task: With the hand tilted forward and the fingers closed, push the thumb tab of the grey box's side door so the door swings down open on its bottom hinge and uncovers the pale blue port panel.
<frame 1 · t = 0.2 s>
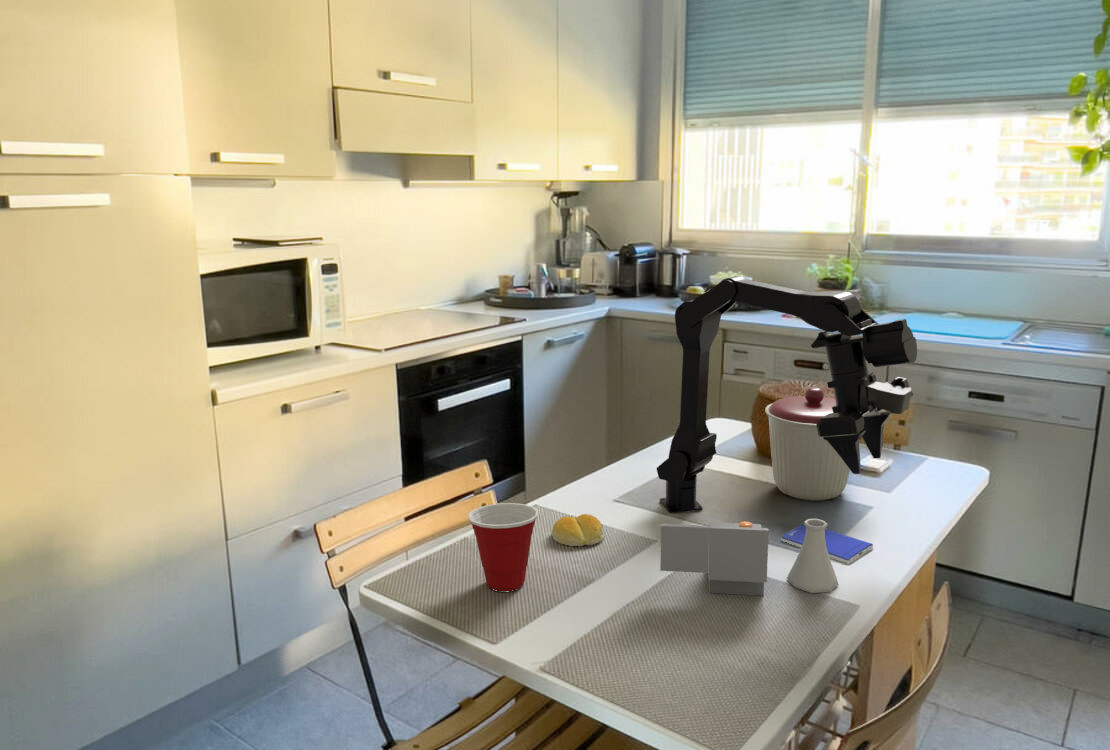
hand: (867, 465, 136), 15 cm above the table, tool pointing down, fingers open, 9 cm apart
hard drive: (826, 548, 144), on the table
bread roll: (578, 539, 148), on the table
grey box: (734, 581, 131), on the table
plastic cup: (505, 584, 132), on the table
canister: (809, 492, 167), on the table
flask: (812, 584, 130), on the table
side door: (713, 552, 125), point 7 cm above the table, hinge at -3.0°
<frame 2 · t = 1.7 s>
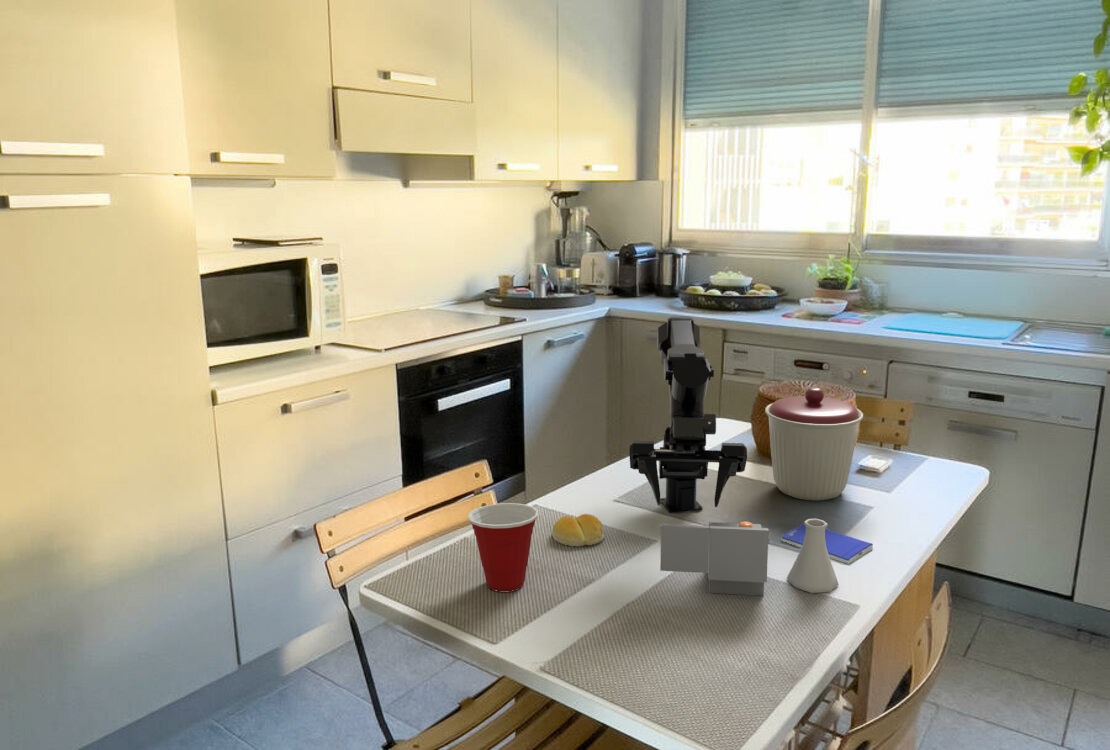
hand: (687, 505, 134), 10 cm above the table, tool tilted 45°, fingers open, 9 cm apart
nothing on the table moved.
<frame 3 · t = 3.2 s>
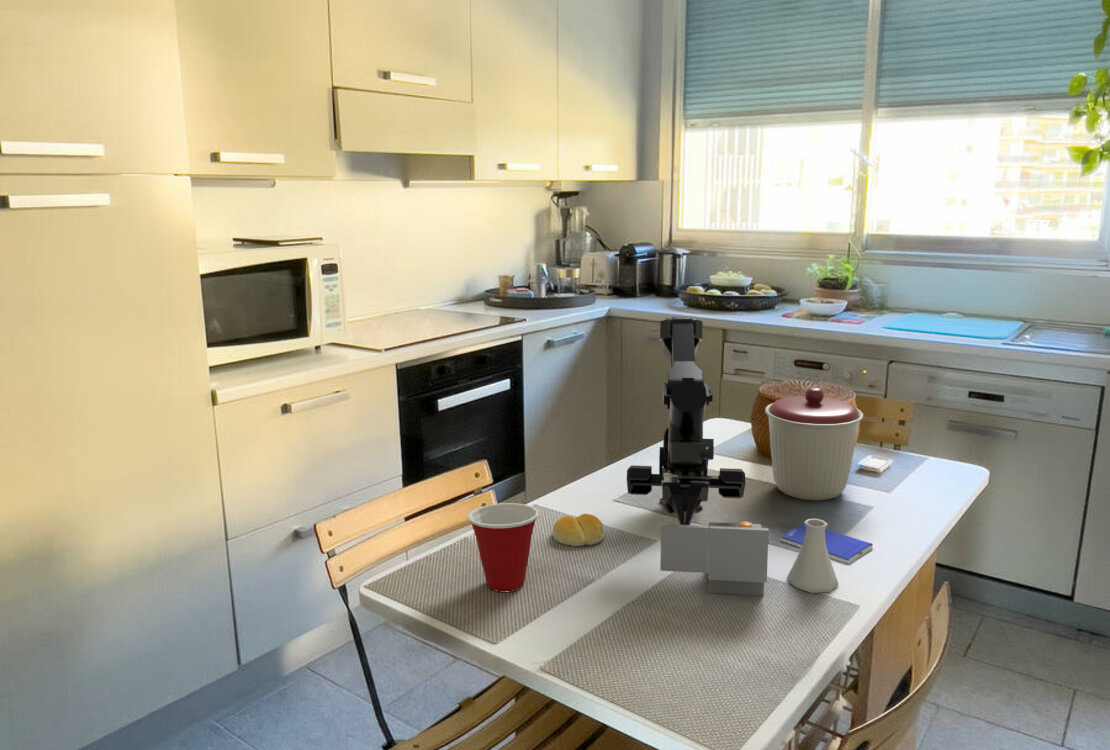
hand: (684, 531, 133), 7 cm above the table, tool tilted 45°, fingers closed
nothing on the table moved.
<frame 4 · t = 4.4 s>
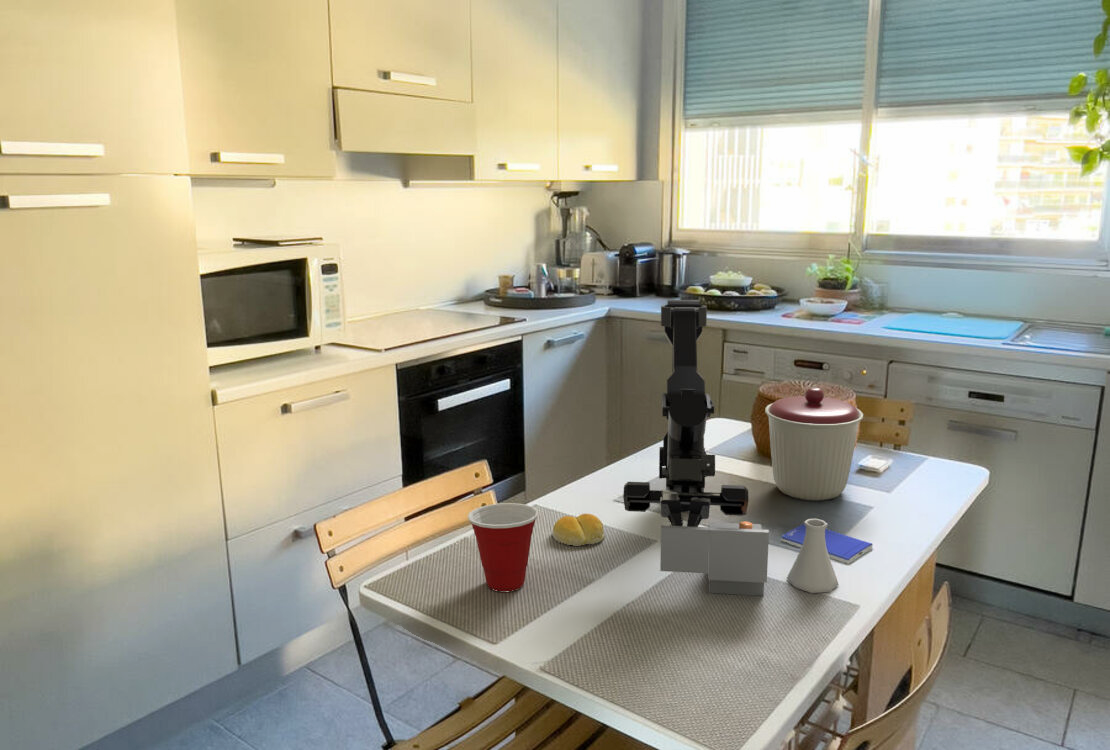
hand: (684, 551, 126), 7 cm above the table, tool tilted 45°, fingers closed, pressing on side door
side door: (713, 553, 125), point 7 cm above the table, hinge at 1.6°, touching gripper
everything else where it was.
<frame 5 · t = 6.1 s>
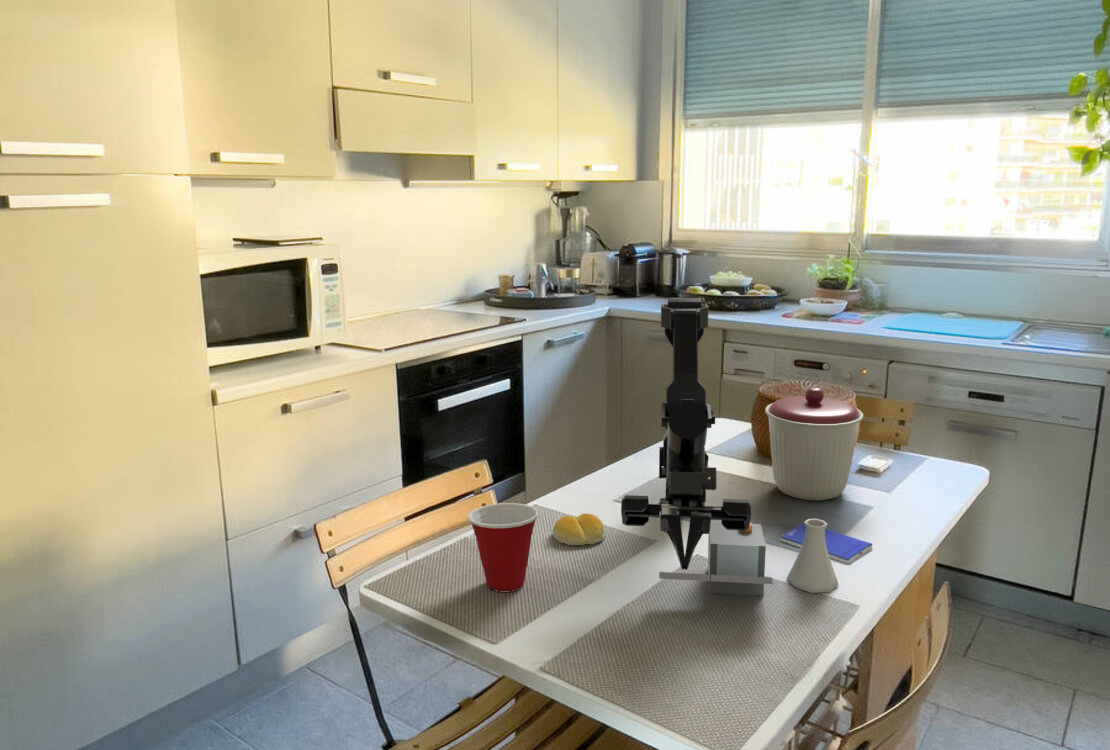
hand: (684, 568, 121), 7 cm above the table, tool tilted 45°, fingers closed
side door: (714, 578, 122), point 5 cm above the table, hinge at 62.8°
everything else where it was.
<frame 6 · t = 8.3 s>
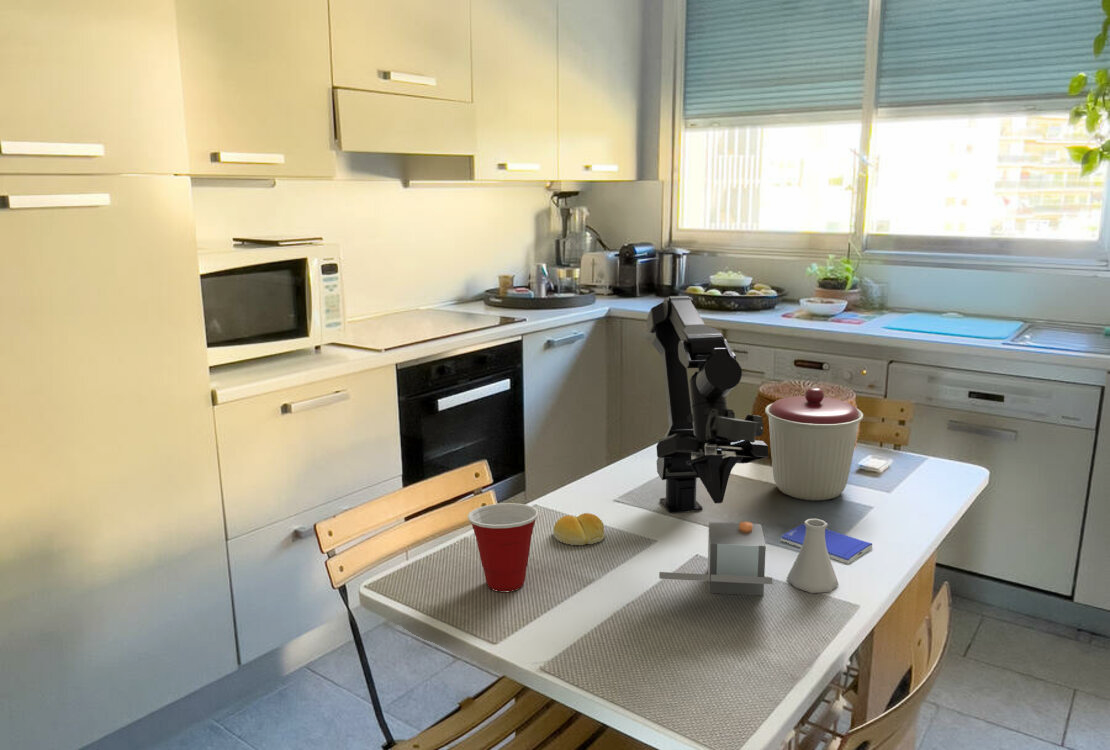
hand: (718, 503, 133), 11 cm above the table, tool tilted 30°, fingers closed
nothing on the table moved.
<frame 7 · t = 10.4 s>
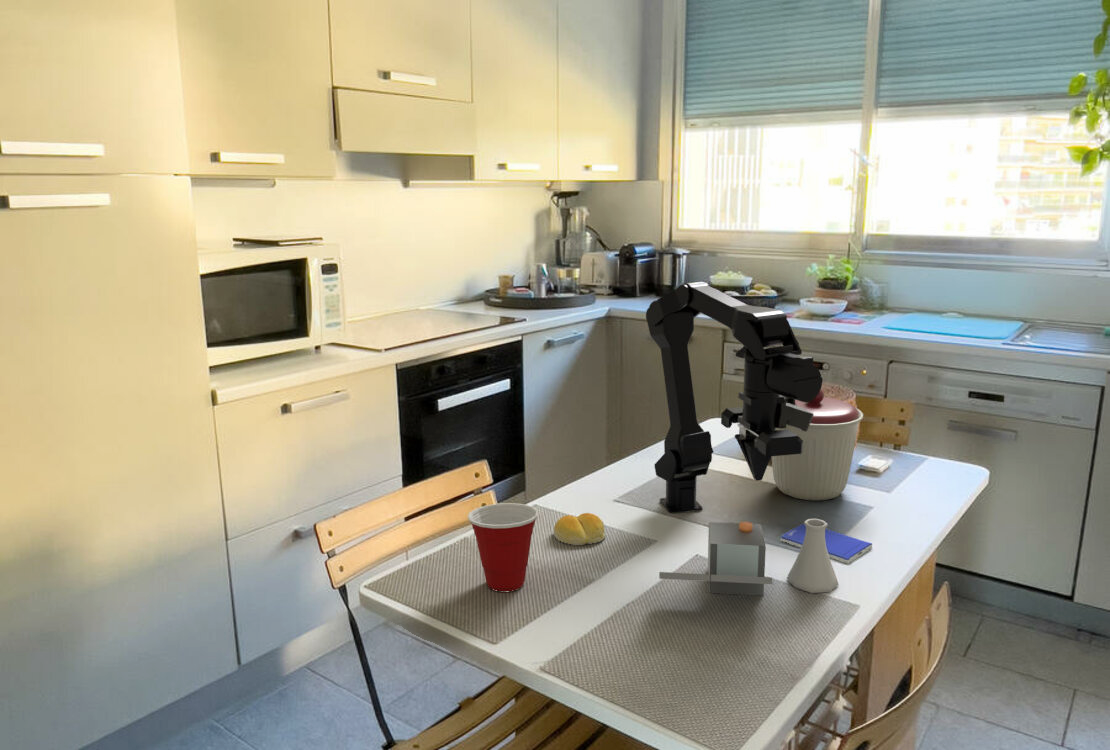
hand: (757, 479, 140), 12 cm above the table, tool pointing down, fingers closed
nothing on the table moved.
at the end: side door at +63° (first picture: -3°); the gripper is holding nothing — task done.
